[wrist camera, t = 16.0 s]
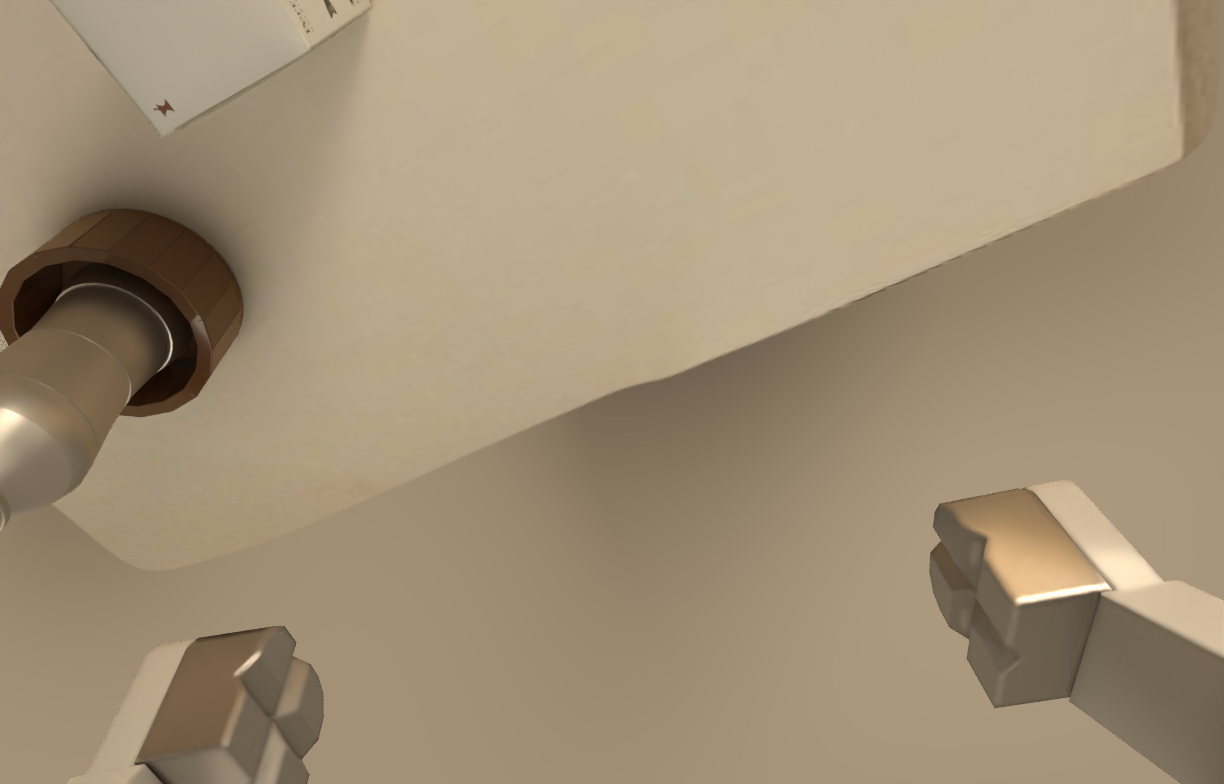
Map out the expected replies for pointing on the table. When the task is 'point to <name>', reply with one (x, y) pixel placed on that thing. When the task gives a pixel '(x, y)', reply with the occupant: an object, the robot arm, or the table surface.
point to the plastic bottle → (78, 380)
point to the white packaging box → (200, 47)
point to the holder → (161, 260)
